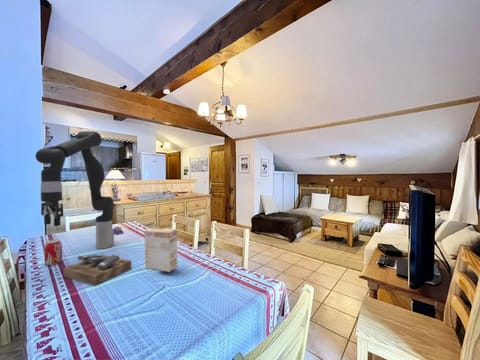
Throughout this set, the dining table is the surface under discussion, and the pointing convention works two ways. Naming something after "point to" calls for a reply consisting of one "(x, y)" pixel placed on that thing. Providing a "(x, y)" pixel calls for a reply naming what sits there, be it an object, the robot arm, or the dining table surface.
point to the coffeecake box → (161, 249)
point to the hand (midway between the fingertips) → (52, 225)
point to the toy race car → (117, 230)
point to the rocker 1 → (85, 258)
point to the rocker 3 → (108, 262)
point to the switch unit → (96, 271)
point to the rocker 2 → (96, 259)
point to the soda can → (53, 252)
